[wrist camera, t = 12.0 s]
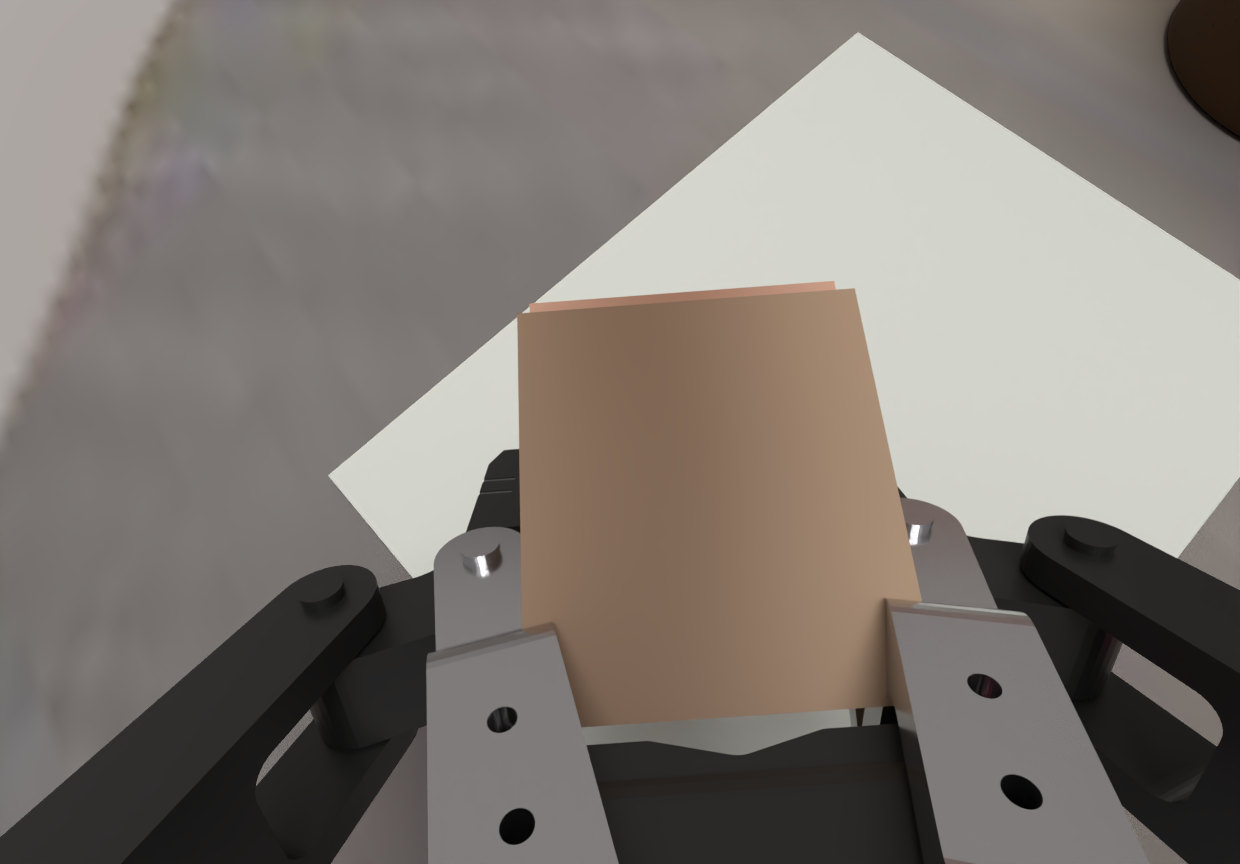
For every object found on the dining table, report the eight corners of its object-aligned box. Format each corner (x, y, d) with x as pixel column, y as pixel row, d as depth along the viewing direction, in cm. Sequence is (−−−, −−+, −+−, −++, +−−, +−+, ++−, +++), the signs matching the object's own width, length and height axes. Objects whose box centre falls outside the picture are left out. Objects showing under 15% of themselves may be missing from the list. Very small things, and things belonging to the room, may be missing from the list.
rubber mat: (1326, 351, 18) (1340, 345, 18) (796, 1035, 14) (800, 1047, 13) (854, 42, 23) (857, 32, 23) (334, 478, 18) (328, 475, 18)
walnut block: (737, 465, 16) (850, 266, 7) (763, 662, 14) (942, 702, 6) (583, 476, 16) (516, 292, 7) (592, 674, 14) (523, 730, 6)
